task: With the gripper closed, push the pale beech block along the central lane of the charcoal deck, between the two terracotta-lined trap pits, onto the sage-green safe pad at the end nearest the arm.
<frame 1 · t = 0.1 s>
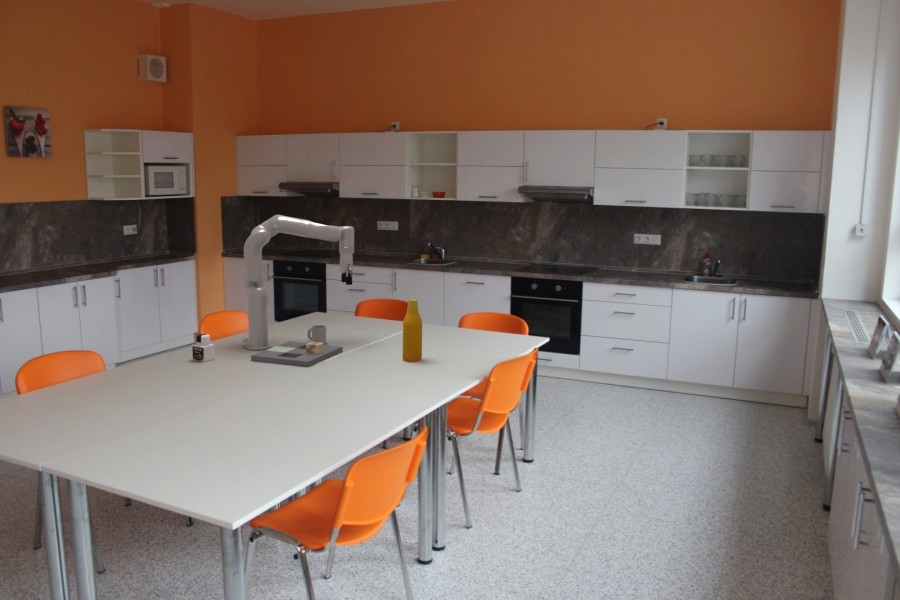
hand: (346, 283, 397), 31 cm above the table, tool pointing down, fingers open, 9 cm apart
beer bottle: (412, 360, 367), on the table
cup: (316, 343, 399), on the table
medicine bottle: (203, 360, 359), on the table
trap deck: (298, 356, 370), on the table
beech block: (314, 352, 366), point 2 cm above the table, touching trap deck
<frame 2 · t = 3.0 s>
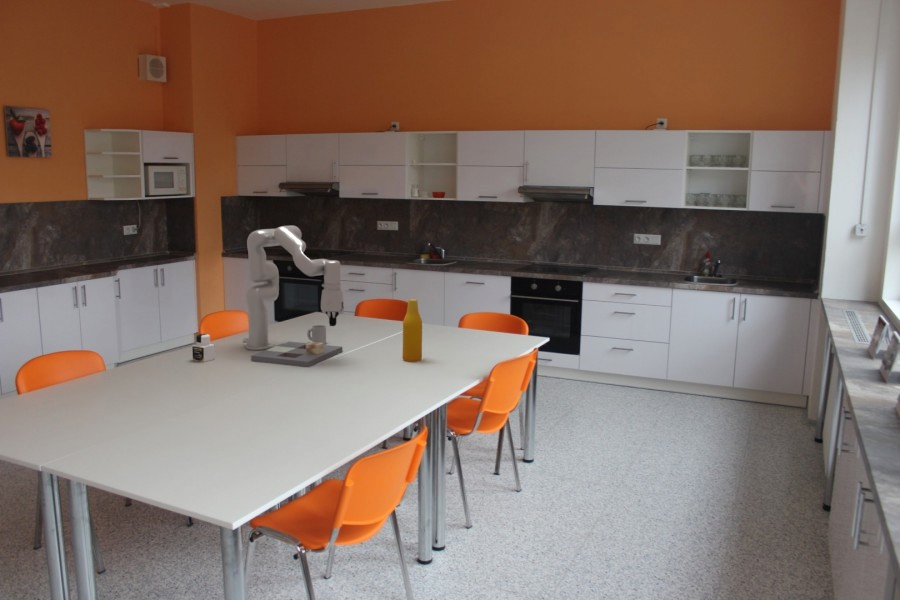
hand: (332, 325, 361), 16 cm above the table, tool pointing down, fingers closed
nothing on the table moved.
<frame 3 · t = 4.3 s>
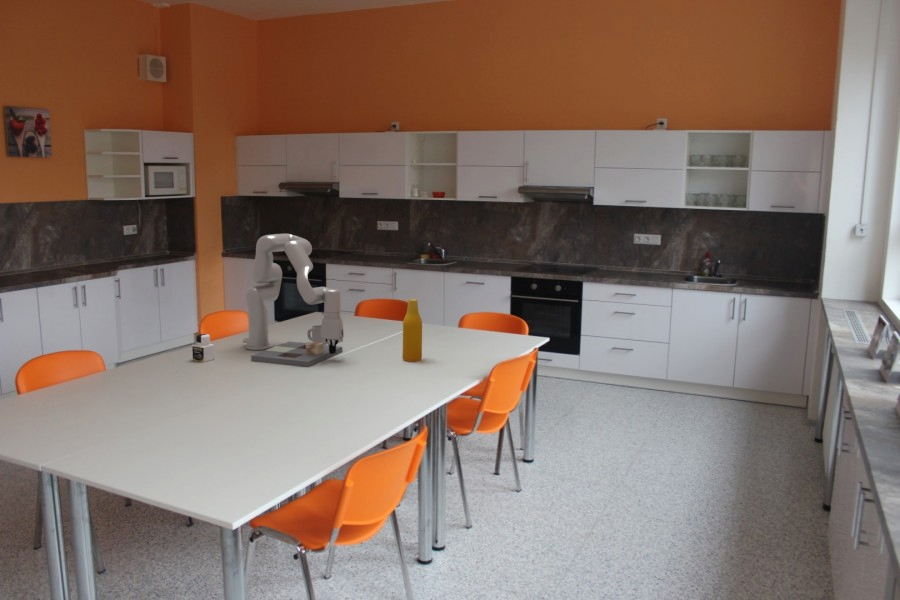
hand: (332, 353, 363), 3 cm above the table, tool pointing down, fingers closed
nothing on the table moved.
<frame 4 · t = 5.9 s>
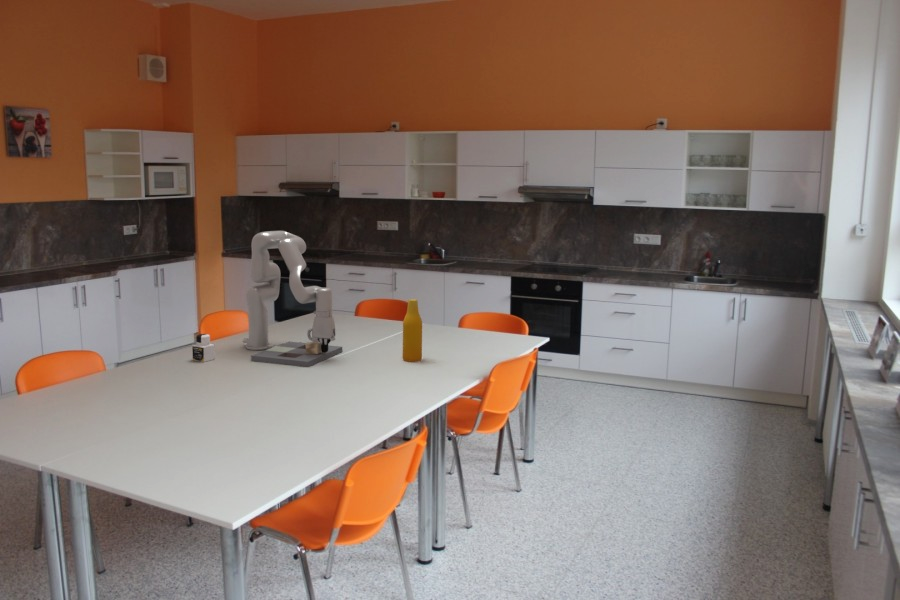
hand: (324, 352, 365), 3 cm above the table, tool pointing down, fingers closed
beech block: (314, 352, 366), point 3 cm above the table, touching gripper, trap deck
everything else where it was.
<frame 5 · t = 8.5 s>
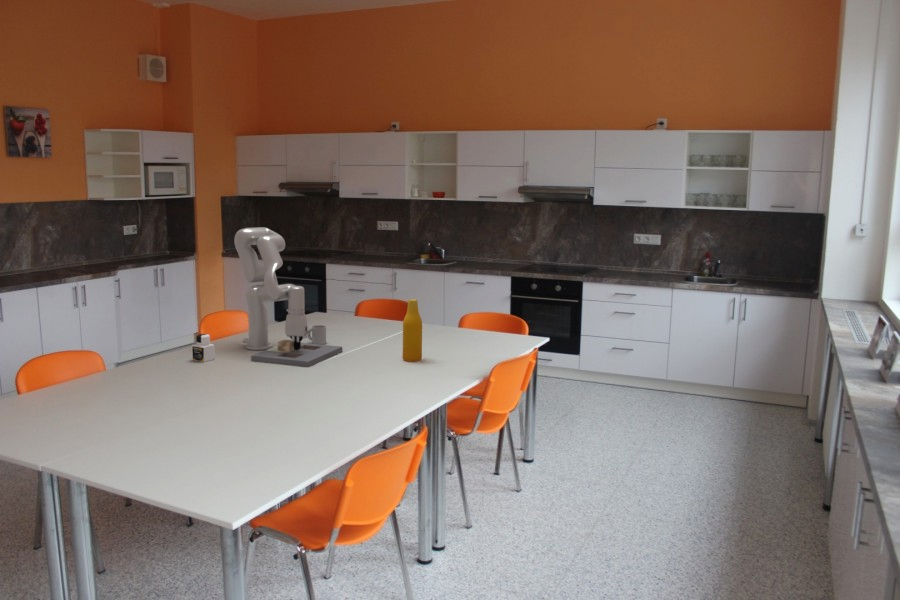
hand: (297, 349, 369), 3 cm above the table, tool pointing down, fingers closed
beech block: (286, 350, 370), point 2 cm above the table, touching gripper, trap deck
everything else where it was.
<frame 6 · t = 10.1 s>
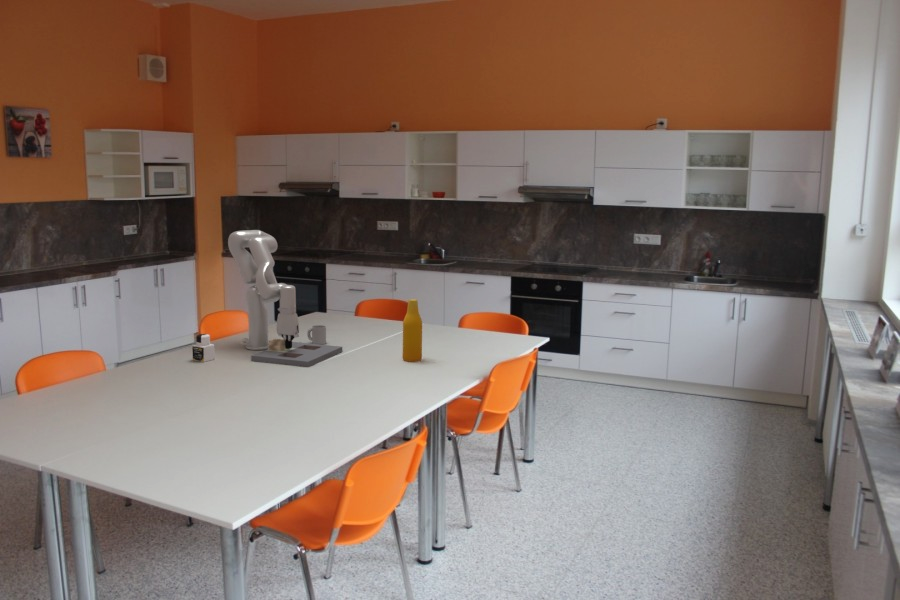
hand: (288, 348, 371), 3 cm above the table, tool pointing down, fingers closed
beech block: (277, 349, 372), point 2 cm above the table, touching gripper, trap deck
everything else where it was.
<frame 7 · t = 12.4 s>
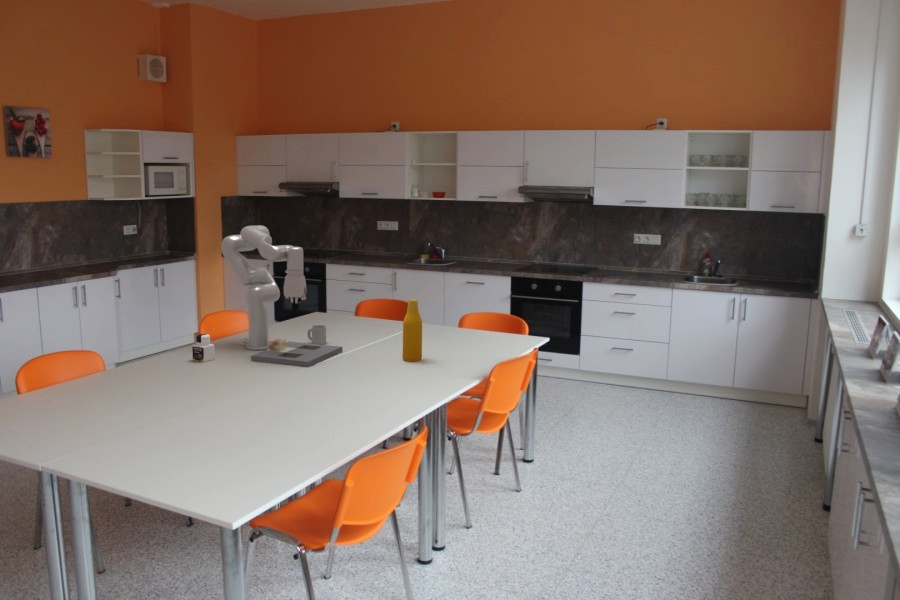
hand: (295, 311, 367), 22 cm above the table, tool pointing down, fingers closed
beech block: (277, 349, 372), point 2 cm above the table, touching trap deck
everything else where it was.
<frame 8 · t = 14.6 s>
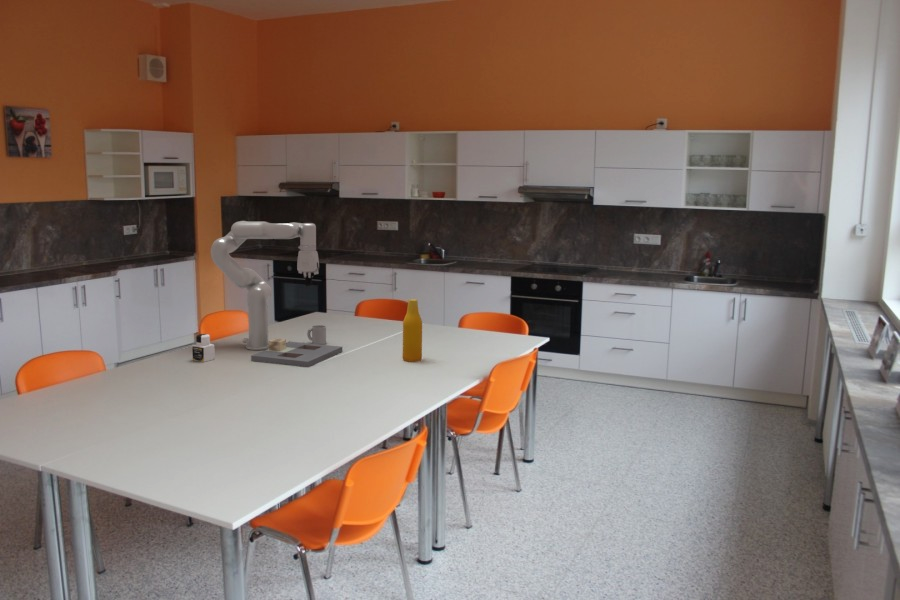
hand: (308, 285, 381), 32 cm above the table, tool pointing down, fingers closed
nothing on the table moved.
at the end: beech block inside the target area (2.0 cm from its centre), point 2.5 cm above the table; beech block tilted 0° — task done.
